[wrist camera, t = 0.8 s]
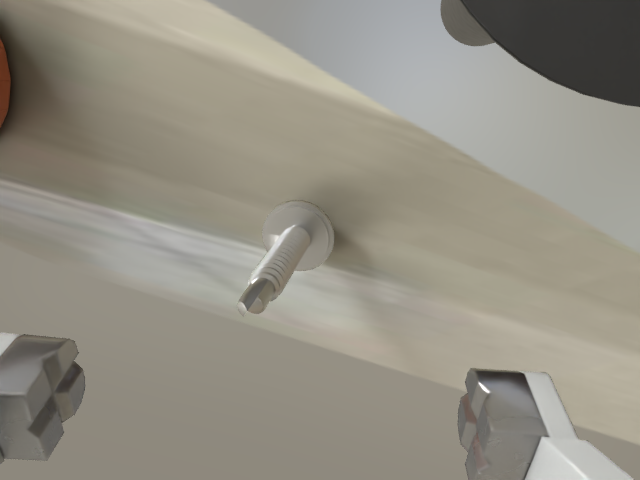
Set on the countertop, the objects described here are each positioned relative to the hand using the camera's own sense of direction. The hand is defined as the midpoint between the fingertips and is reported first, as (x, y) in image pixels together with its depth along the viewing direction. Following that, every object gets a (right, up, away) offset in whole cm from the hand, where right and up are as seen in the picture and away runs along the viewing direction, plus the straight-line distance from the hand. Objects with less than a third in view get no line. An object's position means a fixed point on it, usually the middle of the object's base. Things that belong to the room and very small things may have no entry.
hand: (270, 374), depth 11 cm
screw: (0, +4, +25) cm, 26 cm away
